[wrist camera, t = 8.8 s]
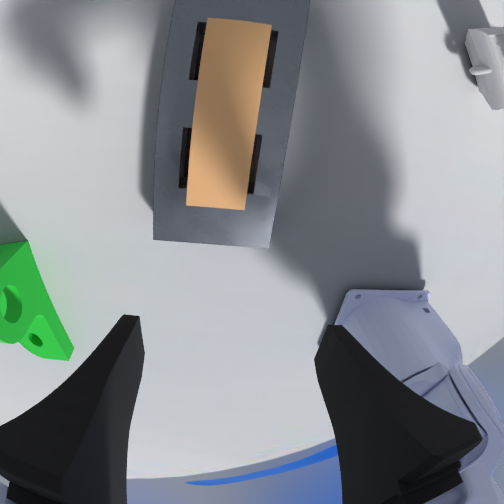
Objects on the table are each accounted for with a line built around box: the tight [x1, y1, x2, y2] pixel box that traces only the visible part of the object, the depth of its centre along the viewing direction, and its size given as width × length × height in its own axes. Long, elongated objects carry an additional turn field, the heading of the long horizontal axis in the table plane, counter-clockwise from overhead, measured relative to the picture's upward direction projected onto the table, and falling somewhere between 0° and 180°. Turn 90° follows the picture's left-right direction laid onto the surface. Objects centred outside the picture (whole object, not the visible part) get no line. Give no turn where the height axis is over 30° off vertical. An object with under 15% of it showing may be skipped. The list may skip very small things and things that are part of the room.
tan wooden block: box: [186, 18, 272, 210], centre depth 14 cm, size 3×9×5 cm, turn 172°
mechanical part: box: [0, 241, 74, 361], centre depth 18 cm, size 12×6×8 cm, turn 1°
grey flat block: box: [153, 0, 310, 249], centre depth 15 cm, size 7×16×2 cm, turn 172°
